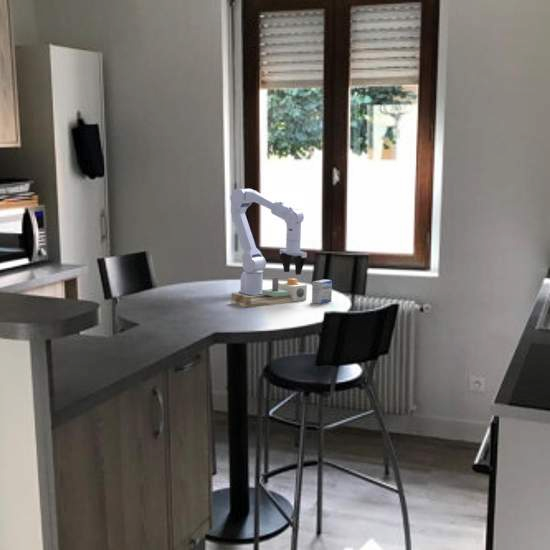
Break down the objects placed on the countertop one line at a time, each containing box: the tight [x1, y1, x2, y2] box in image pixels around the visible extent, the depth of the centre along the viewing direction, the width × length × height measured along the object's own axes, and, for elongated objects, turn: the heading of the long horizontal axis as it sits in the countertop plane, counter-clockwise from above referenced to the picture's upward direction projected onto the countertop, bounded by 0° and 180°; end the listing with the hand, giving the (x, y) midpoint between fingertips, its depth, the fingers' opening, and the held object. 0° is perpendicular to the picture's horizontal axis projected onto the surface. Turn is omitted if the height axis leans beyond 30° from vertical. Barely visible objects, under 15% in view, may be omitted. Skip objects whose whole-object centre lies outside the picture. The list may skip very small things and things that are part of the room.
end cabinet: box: [278, 281, 308, 302], centre depth 304 cm, size 10×7×6 cm
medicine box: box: [311, 279, 333, 305], centre depth 298 cm, size 8×4×9 cm, turn 143°
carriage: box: [261, 277, 288, 297], centre depth 298 cm, size 8×7×7 cm
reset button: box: [286, 277, 298, 285], centre depth 304 cm, size 4×4×6 cm
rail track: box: [231, 292, 294, 308], centre depth 295 cm, size 10×23×4 cm, turn 129°
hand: (292, 273), depth 303 cm, fingers open, 7 cm apart
